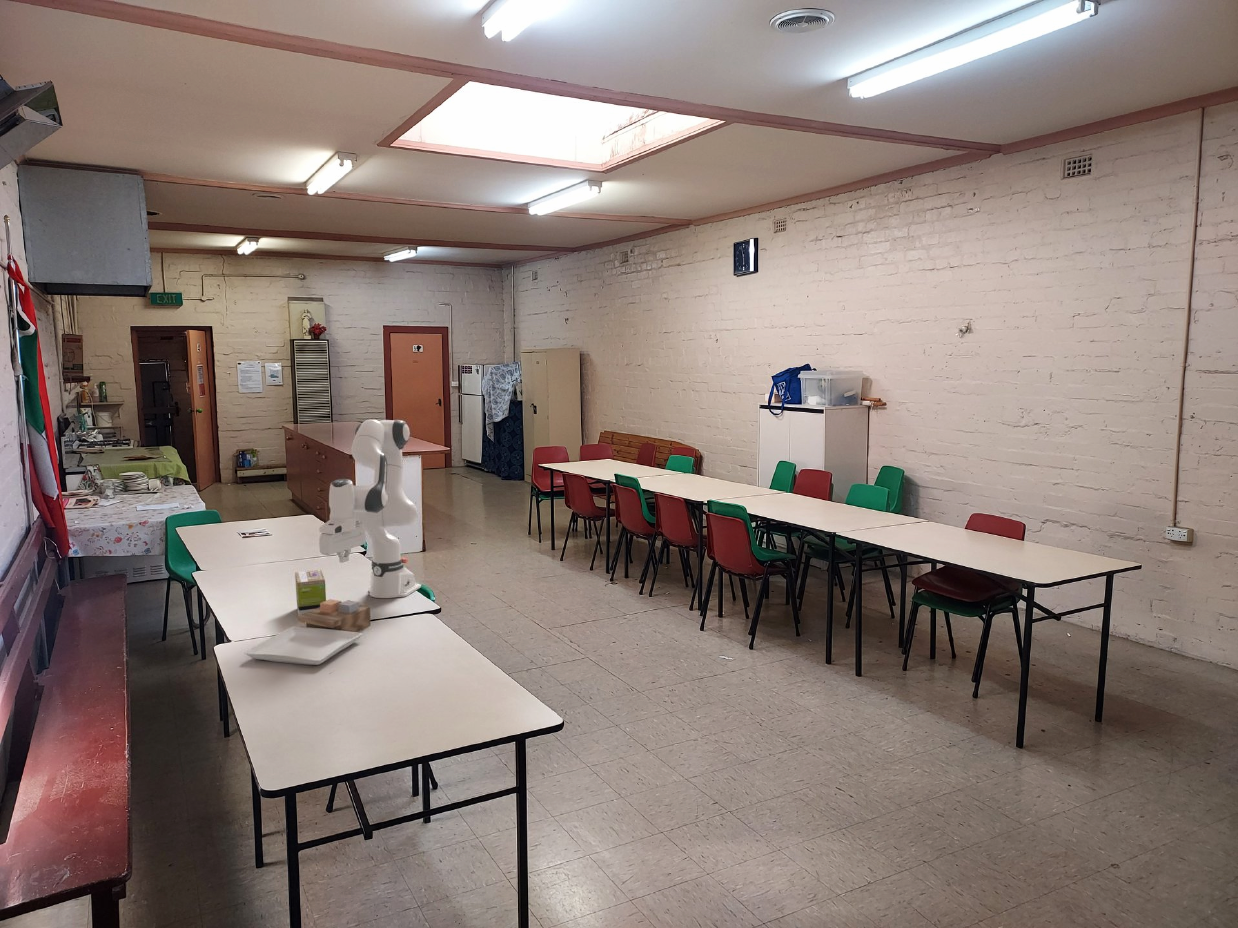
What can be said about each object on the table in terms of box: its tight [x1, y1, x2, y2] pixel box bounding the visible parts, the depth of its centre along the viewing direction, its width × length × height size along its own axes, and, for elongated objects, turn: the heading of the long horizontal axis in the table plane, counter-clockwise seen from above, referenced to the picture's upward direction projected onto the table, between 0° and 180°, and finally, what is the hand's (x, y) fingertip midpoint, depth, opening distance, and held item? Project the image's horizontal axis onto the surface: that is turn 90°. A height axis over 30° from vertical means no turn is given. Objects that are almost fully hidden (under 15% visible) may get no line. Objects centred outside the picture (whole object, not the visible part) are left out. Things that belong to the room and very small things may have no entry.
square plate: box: [244, 626, 363, 666], centre depth 271 cm, size 27×27×4 cm
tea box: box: [294, 569, 327, 616], centre depth 310 cm, size 15×10×15 cm, turn 25°
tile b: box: [338, 599, 360, 614], centre depth 291 cm, size 5×5×3 cm
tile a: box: [320, 598, 342, 613], centre depth 292 cm, size 5×5×3 cm
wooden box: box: [296, 601, 371, 633], centre depth 291 cm, size 19×16×7 cm
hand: (344, 561), depth 297 cm, fingers closed
